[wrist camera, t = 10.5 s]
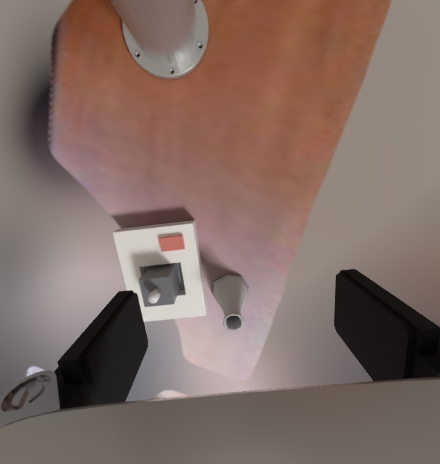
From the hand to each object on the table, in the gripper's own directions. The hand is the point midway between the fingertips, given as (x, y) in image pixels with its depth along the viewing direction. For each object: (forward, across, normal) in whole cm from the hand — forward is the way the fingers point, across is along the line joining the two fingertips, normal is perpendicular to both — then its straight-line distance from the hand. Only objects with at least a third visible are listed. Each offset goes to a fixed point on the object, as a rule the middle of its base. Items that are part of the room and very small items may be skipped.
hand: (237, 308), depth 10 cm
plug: (+29, +12, +11) cm, 33 cm away
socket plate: (+30, +12, +10) cm, 34 cm away
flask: (+30, 0, +16) cm, 34 cm away
